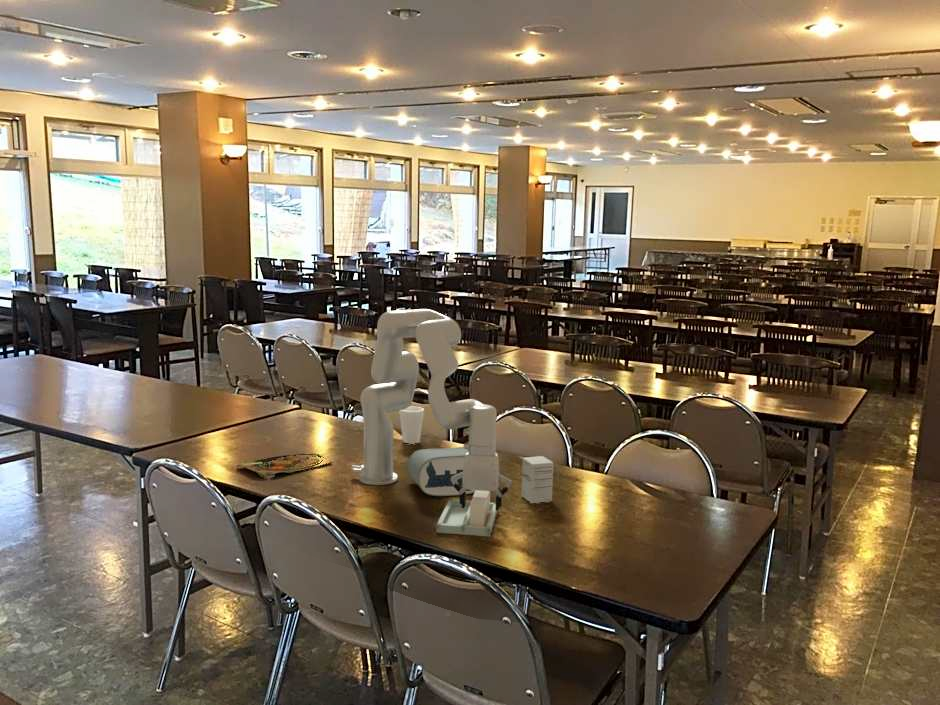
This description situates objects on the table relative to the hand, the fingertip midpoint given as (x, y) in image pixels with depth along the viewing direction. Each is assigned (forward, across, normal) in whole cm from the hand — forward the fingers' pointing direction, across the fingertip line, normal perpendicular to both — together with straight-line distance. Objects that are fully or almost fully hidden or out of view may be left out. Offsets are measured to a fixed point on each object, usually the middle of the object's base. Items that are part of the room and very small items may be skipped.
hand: (480, 507), depth 225 cm
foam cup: (+4, -36, +76) cm, 84 cm away
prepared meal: (+5, -72, +37) cm, 81 cm away
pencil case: (+4, -14, +27) cm, 31 cm away
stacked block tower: (+4, +15, +22) cm, 27 cm away
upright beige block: (+3, 0, 0) cm, 3 cm away
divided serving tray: (+4, -3, 0) cm, 5 cm away
